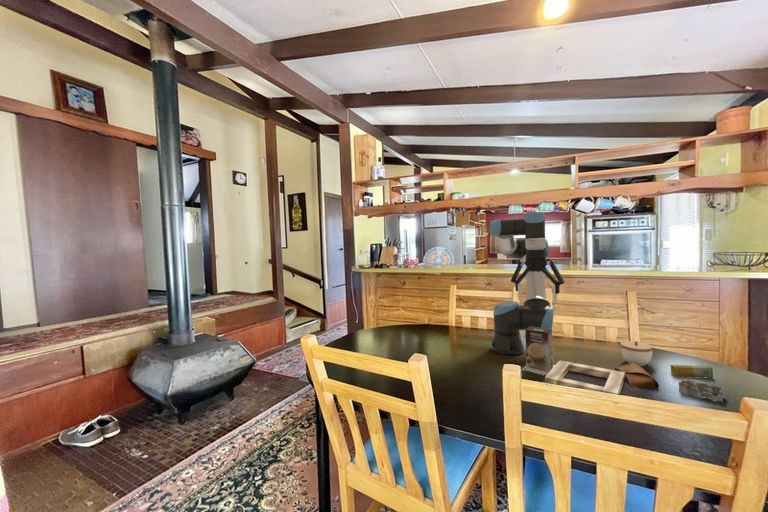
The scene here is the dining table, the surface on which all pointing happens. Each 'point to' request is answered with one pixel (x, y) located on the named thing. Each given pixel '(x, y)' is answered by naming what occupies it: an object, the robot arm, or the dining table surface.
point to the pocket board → (613, 376)
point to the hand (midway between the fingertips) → (537, 300)
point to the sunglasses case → (637, 376)
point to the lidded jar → (636, 352)
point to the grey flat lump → (701, 389)
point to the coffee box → (539, 348)
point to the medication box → (691, 371)
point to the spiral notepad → (537, 370)
